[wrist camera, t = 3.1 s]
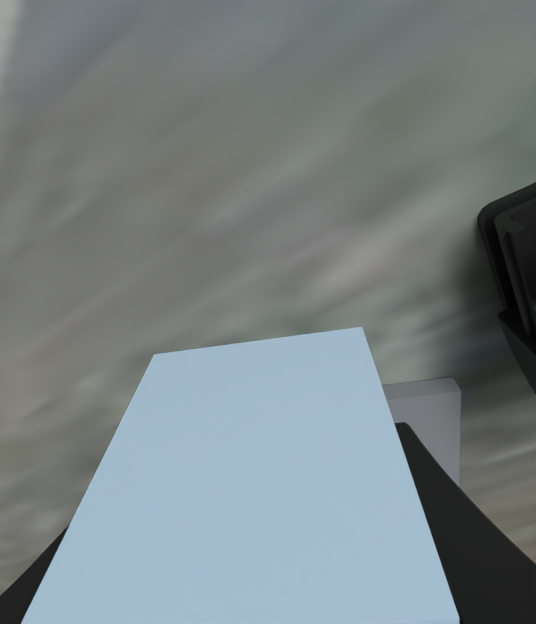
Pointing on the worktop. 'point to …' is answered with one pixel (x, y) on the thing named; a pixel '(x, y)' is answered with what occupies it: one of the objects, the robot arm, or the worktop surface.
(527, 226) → the end cap
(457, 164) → the worktop surface
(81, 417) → the worktop surface
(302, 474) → the pale blue cube
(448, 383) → the board
